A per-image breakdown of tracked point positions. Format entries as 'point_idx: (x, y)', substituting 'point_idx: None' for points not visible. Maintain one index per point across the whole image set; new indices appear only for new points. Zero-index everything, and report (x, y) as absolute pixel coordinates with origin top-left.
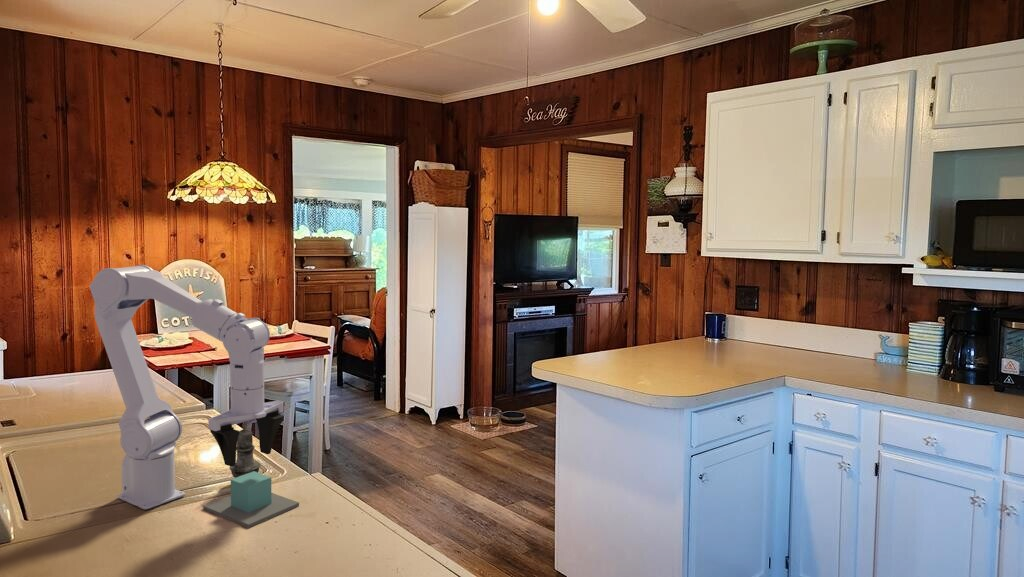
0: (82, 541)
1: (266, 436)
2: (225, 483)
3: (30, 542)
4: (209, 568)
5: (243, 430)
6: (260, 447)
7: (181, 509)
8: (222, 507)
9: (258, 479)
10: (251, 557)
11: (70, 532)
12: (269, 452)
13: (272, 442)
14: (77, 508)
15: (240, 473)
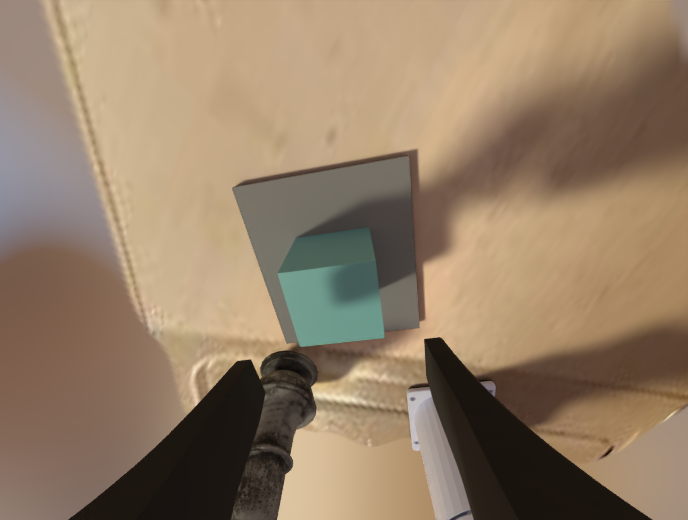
0: (643, 340)
1: (214, 456)
2: (321, 391)
3: (679, 386)
4: None
5: None
6: (259, 412)
7: None
8: (395, 294)
9: (319, 286)
10: None
11: (621, 381)
12: (239, 364)
13: (202, 403)
14: (545, 441)
15: (302, 387)
